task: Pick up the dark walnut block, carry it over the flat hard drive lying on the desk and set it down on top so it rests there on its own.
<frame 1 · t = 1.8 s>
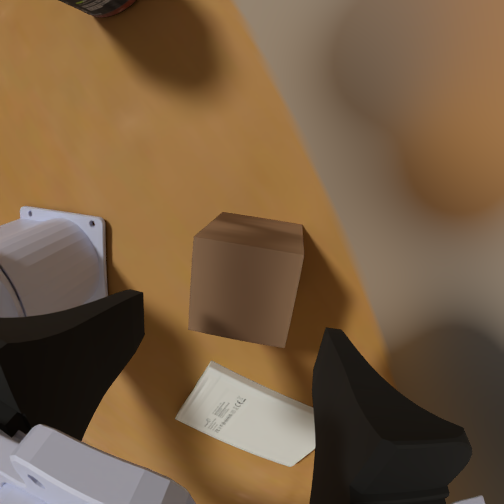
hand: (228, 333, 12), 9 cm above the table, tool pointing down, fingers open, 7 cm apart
external hard drive: (257, 413, 26), on the table
walnut block: (256, 255, 21), on the table
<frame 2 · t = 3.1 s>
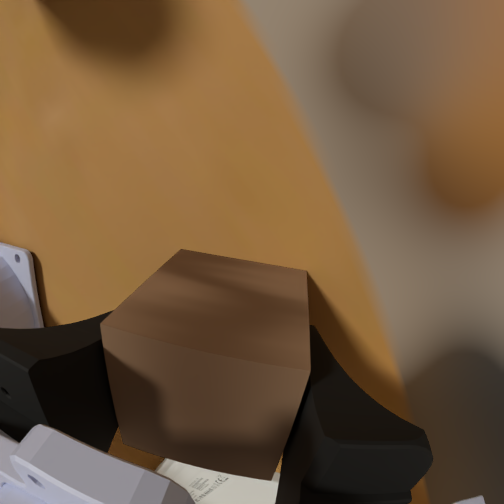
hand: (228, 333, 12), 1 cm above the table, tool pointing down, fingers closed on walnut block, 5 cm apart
external hard drive: (244, 483, 19), on the table
walnut block: (235, 315, 13), on the table, touching gripper
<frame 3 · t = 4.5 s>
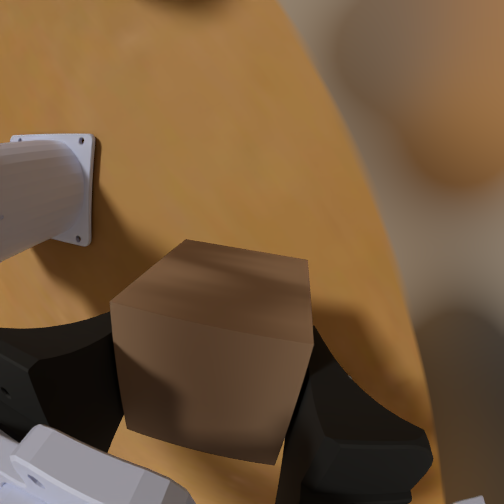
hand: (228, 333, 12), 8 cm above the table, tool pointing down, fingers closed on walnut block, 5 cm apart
walnut block: (238, 304, 13), point 7 cm above the table, touching gripper
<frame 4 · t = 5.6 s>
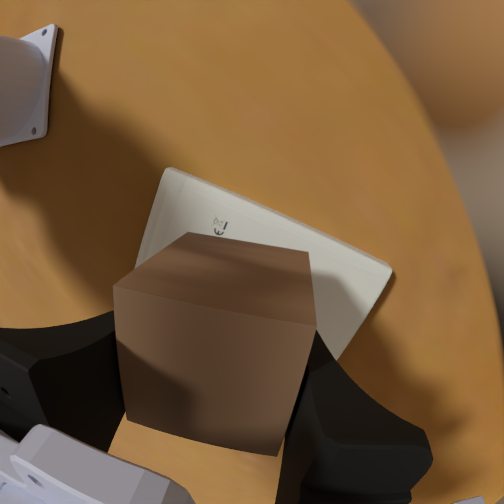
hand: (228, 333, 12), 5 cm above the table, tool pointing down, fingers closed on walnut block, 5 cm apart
external hard drive: (253, 277, 18), on the table
walnut block: (239, 297, 14), point 3 cm above the table, touching gripper
when the fingers open (5 cm above the table, at t = 6.2 s): walnut block drops 2 cm, resting on external hard drive.
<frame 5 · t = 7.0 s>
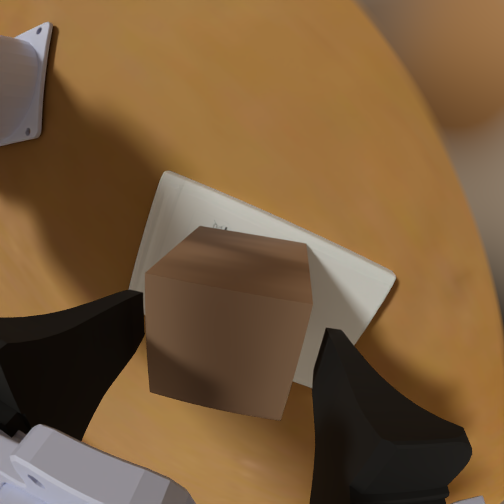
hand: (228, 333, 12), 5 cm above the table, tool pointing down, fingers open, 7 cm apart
external hard drive: (253, 282, 17), on the table, touching walnut block
walnut block: (245, 283, 15), point 1 cm above the table, touching external hard drive
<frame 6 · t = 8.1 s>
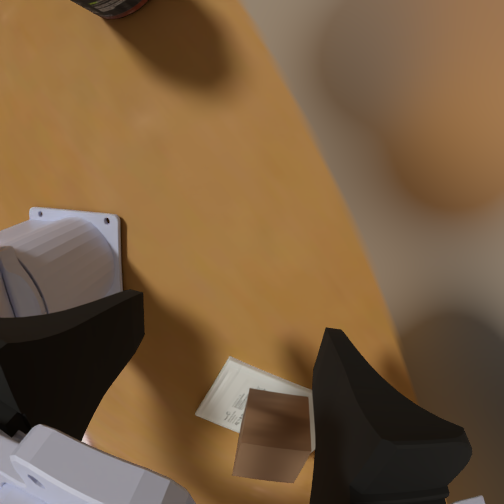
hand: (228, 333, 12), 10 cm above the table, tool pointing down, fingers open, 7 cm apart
external hard drive: (274, 404, 27), on the table, touching walnut block
walnut block: (273, 412, 25), point 1 cm above the table, touching external hard drive
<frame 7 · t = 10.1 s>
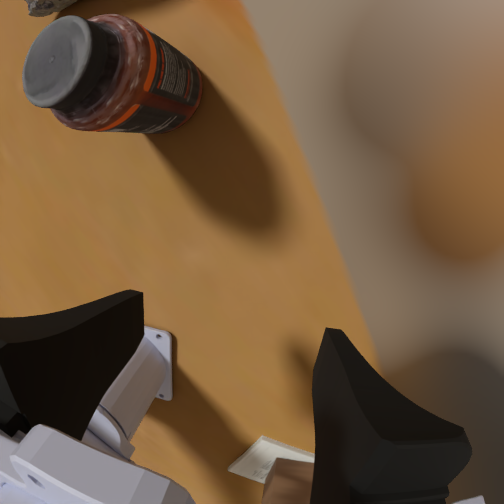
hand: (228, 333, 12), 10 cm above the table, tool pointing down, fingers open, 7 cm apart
external hard drive: (293, 463, 30), on the table
supplement bottle: (164, 93, 19), on the table
walnut block: (292, 472, 28), point 1 cm above the table
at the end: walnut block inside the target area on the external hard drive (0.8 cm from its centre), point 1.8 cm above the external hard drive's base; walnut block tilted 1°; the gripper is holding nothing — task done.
